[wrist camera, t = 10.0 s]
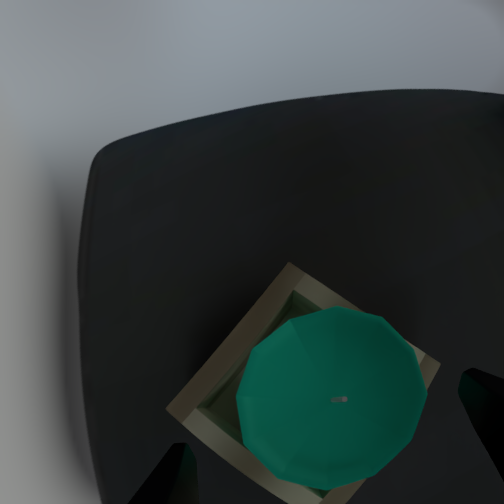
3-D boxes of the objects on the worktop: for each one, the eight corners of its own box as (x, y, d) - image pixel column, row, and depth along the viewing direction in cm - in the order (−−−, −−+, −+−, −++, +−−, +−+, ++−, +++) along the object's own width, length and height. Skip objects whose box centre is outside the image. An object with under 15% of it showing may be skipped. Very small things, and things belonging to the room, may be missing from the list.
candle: (356, 354, 19) (441, 288, 8) (352, 445, 16) (440, 491, 5) (262, 352, 19) (236, 284, 9) (255, 444, 17) (215, 499, 6)
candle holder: (411, 373, 18) (440, 363, 14) (317, 501, 15) (325, 524, 11) (287, 289, 22) (288, 261, 18) (188, 408, 19) (165, 408, 15)
